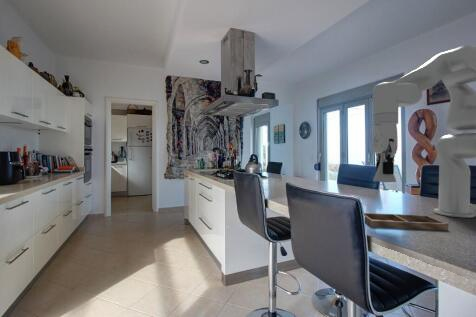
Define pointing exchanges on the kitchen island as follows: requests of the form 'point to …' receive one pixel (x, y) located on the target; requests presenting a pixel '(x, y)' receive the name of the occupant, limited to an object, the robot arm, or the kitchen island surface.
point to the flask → (383, 177)
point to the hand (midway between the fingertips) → (384, 172)
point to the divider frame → (404, 221)
